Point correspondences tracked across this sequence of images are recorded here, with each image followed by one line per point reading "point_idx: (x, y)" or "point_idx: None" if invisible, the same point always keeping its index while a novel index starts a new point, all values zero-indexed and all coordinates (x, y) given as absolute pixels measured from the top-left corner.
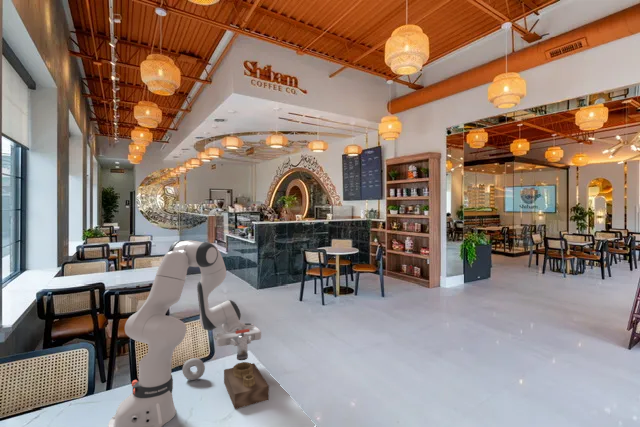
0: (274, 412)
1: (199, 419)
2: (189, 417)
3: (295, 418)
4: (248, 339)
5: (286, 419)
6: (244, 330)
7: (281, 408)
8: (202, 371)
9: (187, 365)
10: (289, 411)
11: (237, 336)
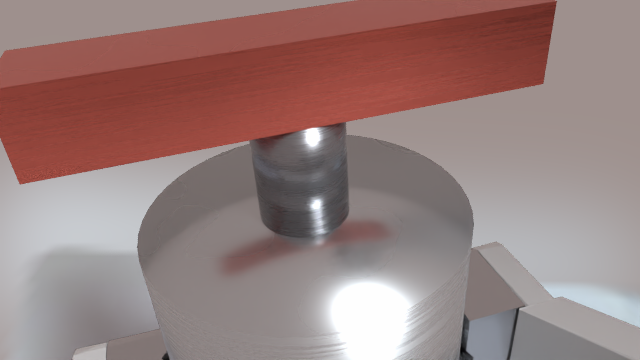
0: (145, 306)
1: (556, 297)
2: (629, 316)
3: (65, 262)
4: (139, 350)
5: (108, 260)
6: (216, 27)
7: (94, 330)
8: None
9: None
10: (65, 305)
11: (458, 187)
